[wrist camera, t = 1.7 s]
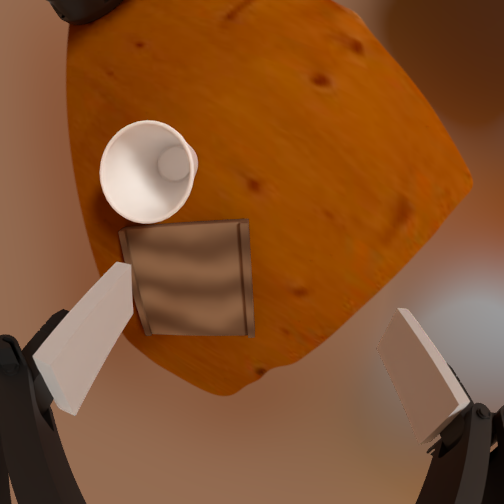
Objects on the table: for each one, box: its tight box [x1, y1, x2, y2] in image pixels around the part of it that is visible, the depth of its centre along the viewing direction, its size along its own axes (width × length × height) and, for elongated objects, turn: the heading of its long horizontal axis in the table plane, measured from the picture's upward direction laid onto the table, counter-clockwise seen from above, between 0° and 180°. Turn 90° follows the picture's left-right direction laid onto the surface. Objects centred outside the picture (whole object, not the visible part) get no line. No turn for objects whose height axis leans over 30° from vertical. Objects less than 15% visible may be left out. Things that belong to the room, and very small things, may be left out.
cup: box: [100, 120, 198, 224], centre depth 28 cm, size 10×10×11 cm
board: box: [118, 219, 255, 338], centre depth 38 cm, size 18×18×2 cm
